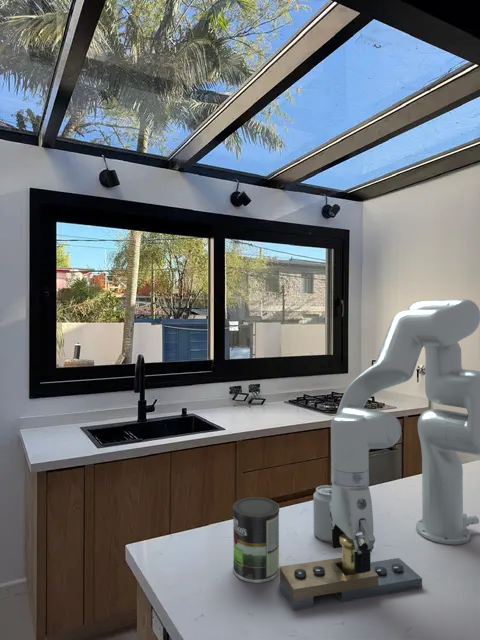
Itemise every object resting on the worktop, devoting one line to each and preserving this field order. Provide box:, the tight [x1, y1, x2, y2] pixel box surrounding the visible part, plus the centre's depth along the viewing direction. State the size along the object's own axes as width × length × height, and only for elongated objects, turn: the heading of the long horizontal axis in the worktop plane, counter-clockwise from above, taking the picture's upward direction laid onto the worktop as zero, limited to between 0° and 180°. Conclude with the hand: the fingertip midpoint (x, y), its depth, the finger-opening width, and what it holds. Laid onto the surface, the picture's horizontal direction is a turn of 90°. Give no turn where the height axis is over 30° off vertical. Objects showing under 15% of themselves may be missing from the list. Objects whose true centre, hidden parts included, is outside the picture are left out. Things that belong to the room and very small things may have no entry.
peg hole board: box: [279, 557, 423, 611], centre depth 91 cm, size 28×8×5 cm, turn 104°
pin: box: [340, 534, 362, 576], centre depth 91 cm, size 4×4×10 cm
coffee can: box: [232, 496, 280, 584], centre depth 98 cm, size 10×10×14 cm
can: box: [312, 484, 334, 543], centre depth 113 cm, size 8×8×12 cm
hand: (350, 558), depth 91 cm, fingers open, 9 cm apart
